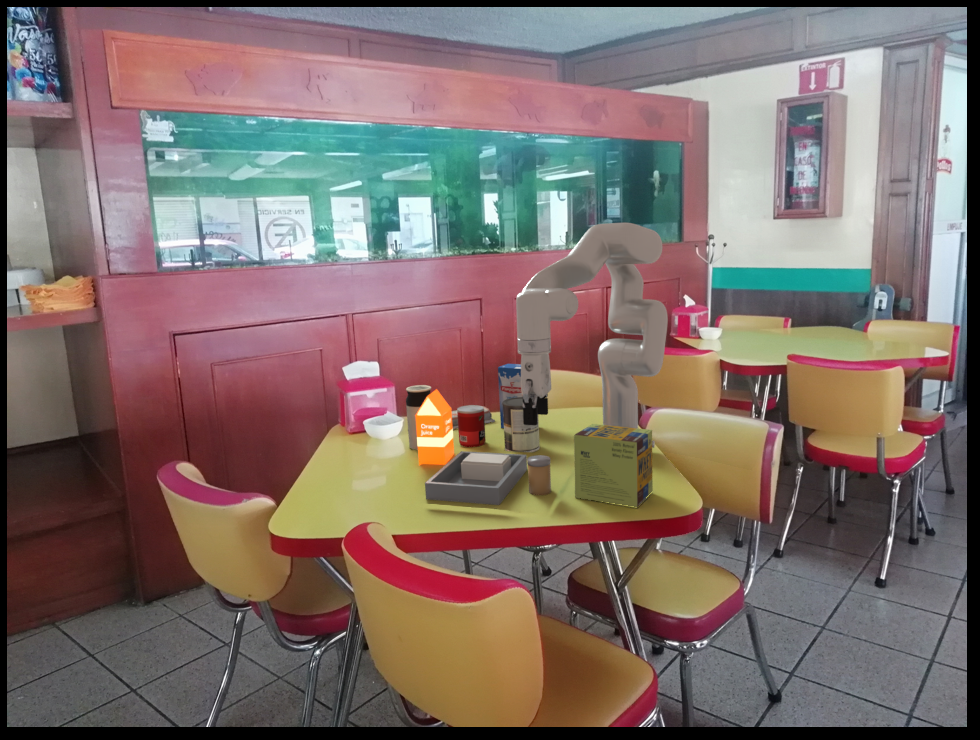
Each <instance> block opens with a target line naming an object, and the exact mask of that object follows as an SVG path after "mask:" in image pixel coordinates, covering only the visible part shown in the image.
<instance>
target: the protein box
mask: <svg viewBox="0 0 980 740" xmlns="http://www.w3.org/2000/svg"><path fill="white" fill-rule="evenodd" d="M652 441H653V429H647V428H645V429H644V428H638V429H637V428H629V427H620V426H609V425H603V424H597V423H591V424H590V425H589V426H587V427H584V428H583V429H582V430H580V431H578V432H576V433H575V434H574V435H573V443H574V444H573V449H574V451H573V453H574V455H573V456H574V489H575V490H574V497H576V499H580V498H581V500H585V499H588V500H587V501H591V500H596V501H603V502H609V503H615V504H622V505H628V506H634V507H638V506H639V505H640V504H641V503H642V502H643V501H644V500H645V499H646V497H647V496H648V495H649V494H650V493H651V492H652V491H653V489H654V488H653V484H654V481H653V448H652ZM653 492H654V491H653ZM646 500H647V499H646ZM646 500H645V501H646ZM596 501H595V502H596ZM645 501H644V502H645ZM644 502H643V503H644ZM643 503H642V504H643ZM642 504H641V505H642ZM641 505H640V506H641ZM640 506H639V507H640ZM639 507H638V508H639Z"/></svg>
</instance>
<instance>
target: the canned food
mask: <svg viewBox="0 0 980 740" xmlns="http://www.w3.org/2000/svg"><path fill="white" fill-rule="evenodd" d="M484 407H485V406H483V407H482V405H477V404H475V405H474V404H469V405H462V406H458V407H457V408H456V409H457V416H458V442H459V445H460V446H461V447H464V448H477V447H482V446H484V445H485V444H486V442H487V441H486V426H485V425H486V424H485V419H484Z"/></svg>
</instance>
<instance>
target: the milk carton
mask: <svg viewBox="0 0 980 740" xmlns="http://www.w3.org/2000/svg"><path fill="white" fill-rule="evenodd" d="M497 376H498V377H497V378H498V379H497V380H498V397H499V417H500V429H502V428H504V420H503V405H502V402H503V401H504V400H506V399H510V398H516V397H523V396H522V392H521V363H520V364H519V363H506V364H503V365H500V366H498V367H497Z"/></svg>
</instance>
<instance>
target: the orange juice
mask: <svg viewBox="0 0 980 740" xmlns="http://www.w3.org/2000/svg"><path fill="white" fill-rule="evenodd" d="M451 411H452V407H451V406H450V405H449V404H448V402H447V400H445V398H444V396H442V394H441V393H440V391H439V390H438V388H436V389H435V390H433V391H432V392H430V394H429V395H428V396H427V398H426V399H425V401H424V402H423V404H422V406H421V407H420V409H419V411H418V412H417V414H416V430H417V446H418V450H417V454H418V467H419V466H421V465H443V466H445V465H446V464H447V463H448V462H449V461H451V460H452V459H453V456H454V455H455V446H454V429H453V428H452V412H451Z"/></svg>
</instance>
